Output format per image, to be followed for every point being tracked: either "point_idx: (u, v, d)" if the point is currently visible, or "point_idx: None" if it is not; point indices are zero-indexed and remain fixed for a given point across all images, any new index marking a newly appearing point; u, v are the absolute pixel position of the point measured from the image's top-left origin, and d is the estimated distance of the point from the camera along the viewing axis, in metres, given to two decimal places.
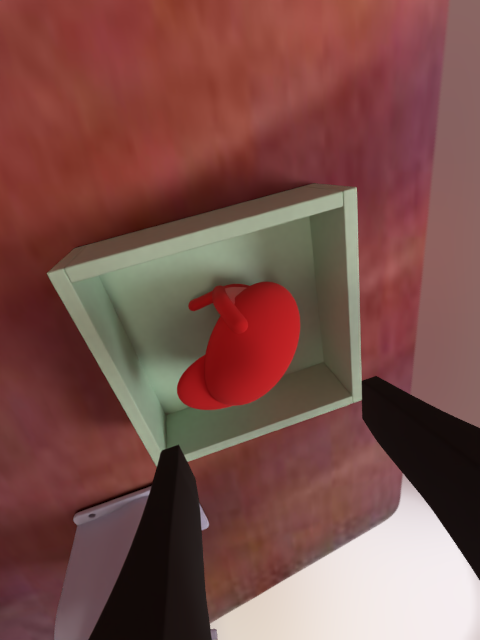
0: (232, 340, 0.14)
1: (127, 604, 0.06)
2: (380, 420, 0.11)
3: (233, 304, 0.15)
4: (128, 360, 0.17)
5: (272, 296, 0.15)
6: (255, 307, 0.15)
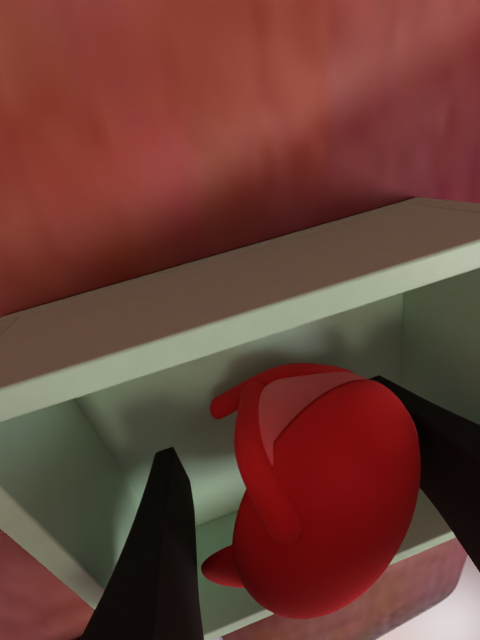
0: (273, 552, 0.07)
1: (117, 608, 0.06)
2: None
3: (269, 470, 0.07)
4: (103, 502, 0.10)
5: (353, 443, 0.07)
6: (316, 481, 0.07)
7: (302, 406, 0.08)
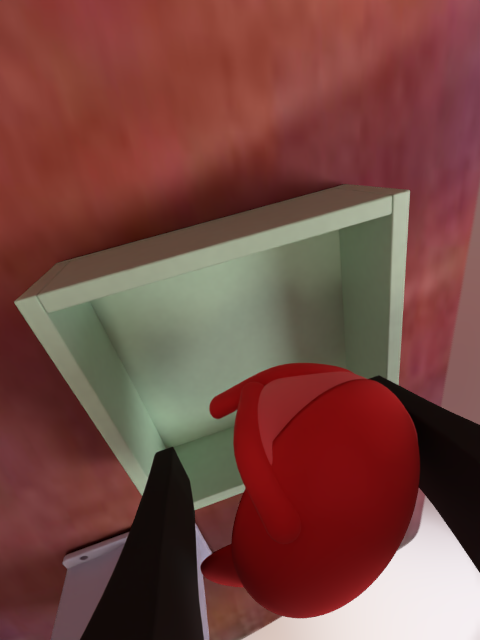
0: (273, 552, 0.07)
1: (117, 608, 0.06)
2: None
3: (268, 470, 0.07)
4: (123, 396, 0.14)
5: (352, 442, 0.07)
6: (315, 480, 0.07)
7: (301, 406, 0.08)
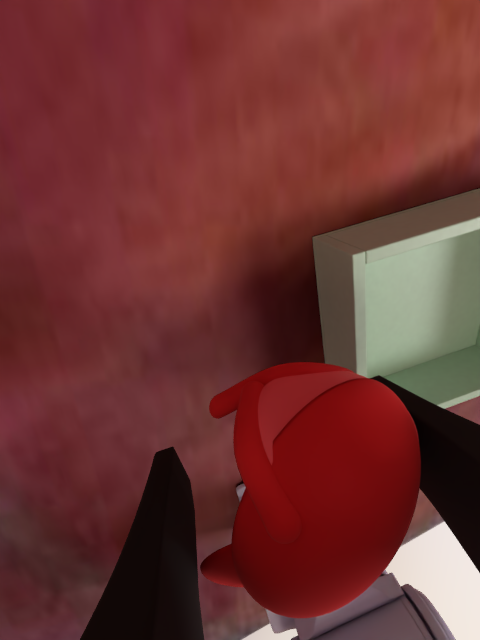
0: (273, 551, 0.07)
1: (117, 608, 0.06)
2: None
3: (268, 470, 0.07)
4: None
5: (353, 442, 0.07)
6: (316, 480, 0.07)
7: (302, 405, 0.08)
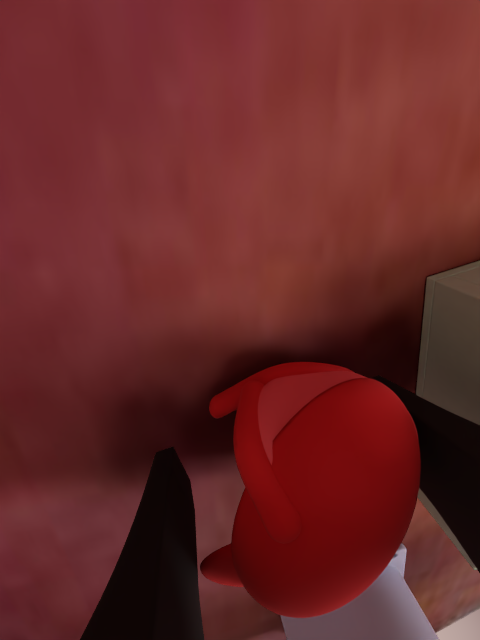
0: (273, 551, 0.07)
1: (117, 608, 0.06)
2: None
3: (268, 469, 0.07)
4: None
5: (352, 441, 0.07)
6: (316, 479, 0.07)
7: (302, 405, 0.08)
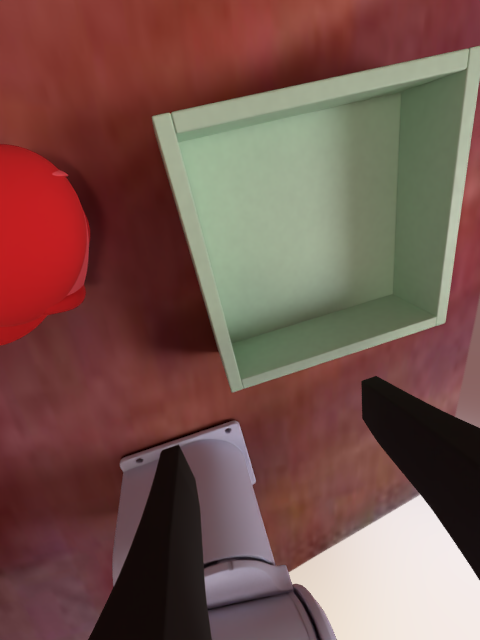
0: None
1: (127, 605, 0.06)
2: (380, 420, 0.11)
3: None
4: None
5: None
6: None
7: None
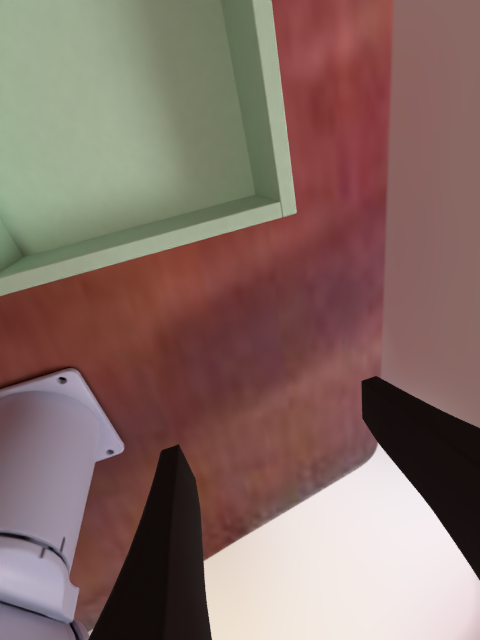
0: None
1: (127, 604, 0.06)
2: (380, 420, 0.11)
3: None
4: None
5: None
6: None
7: None
